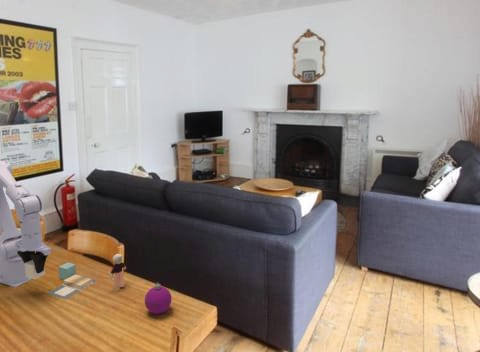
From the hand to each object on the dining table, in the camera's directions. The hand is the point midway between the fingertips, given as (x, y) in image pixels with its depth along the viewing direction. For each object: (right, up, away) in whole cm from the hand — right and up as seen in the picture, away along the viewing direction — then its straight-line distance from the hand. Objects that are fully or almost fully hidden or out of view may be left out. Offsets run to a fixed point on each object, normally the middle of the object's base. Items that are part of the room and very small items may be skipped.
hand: (35, 270), depth 122 cm
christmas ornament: (+43, -11, -7) cm, 45 cm away
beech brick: (+11, -7, +8) cm, 15 cm away
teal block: (+5, -6, +12) cm, 15 cm away
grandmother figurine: (+26, -8, +7) cm, 28 cm away
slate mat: (+10, -7, +6) cm, 14 cm away
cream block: (0, -2, 0) cm, 2 cm away
